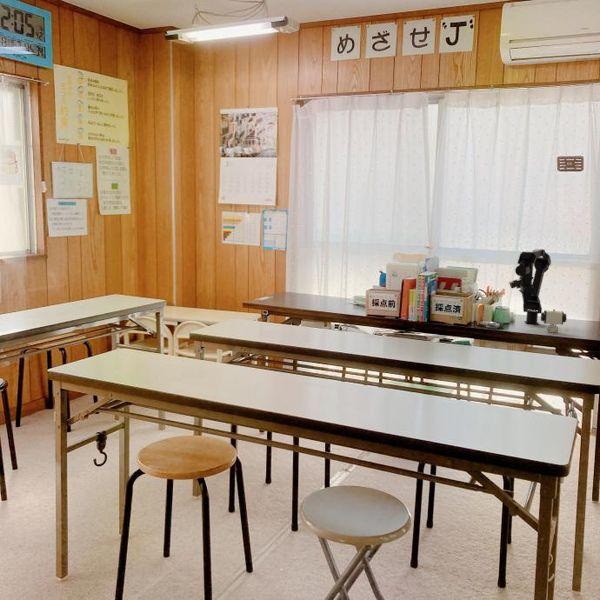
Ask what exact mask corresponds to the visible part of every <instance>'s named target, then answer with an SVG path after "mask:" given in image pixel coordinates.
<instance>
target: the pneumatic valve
mask: <svg viewBox="0 0 600 600" xmlns="http://www.w3.org/2000/svg"><path fill="white" fill-rule="evenodd" d="M540 321H541V322H543V323H544V325H545V324H549V325H547V327H546V332H548V333H549V332H559V327H558V326H557V325H562V326H563V324H564V323H567V313H564V311H563V310H556V309H555V308H553V309H552V310H548V309H547V310H546V309H544V310H543V311H542V313H540Z"/></svg>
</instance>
